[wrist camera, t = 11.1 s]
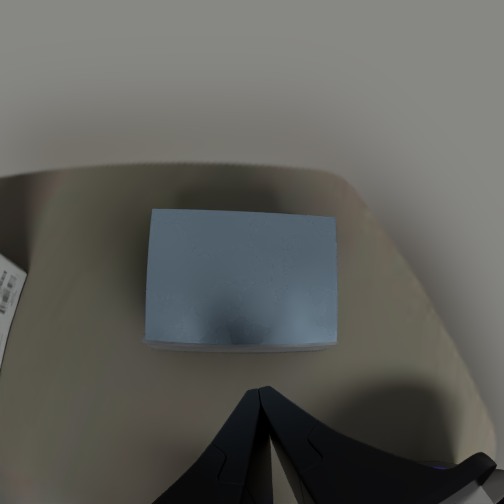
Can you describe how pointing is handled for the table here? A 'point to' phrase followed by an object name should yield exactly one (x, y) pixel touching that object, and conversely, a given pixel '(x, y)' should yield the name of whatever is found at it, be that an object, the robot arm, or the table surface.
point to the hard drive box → (8, 296)
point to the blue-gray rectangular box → (241, 278)
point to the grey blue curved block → (495, 485)
